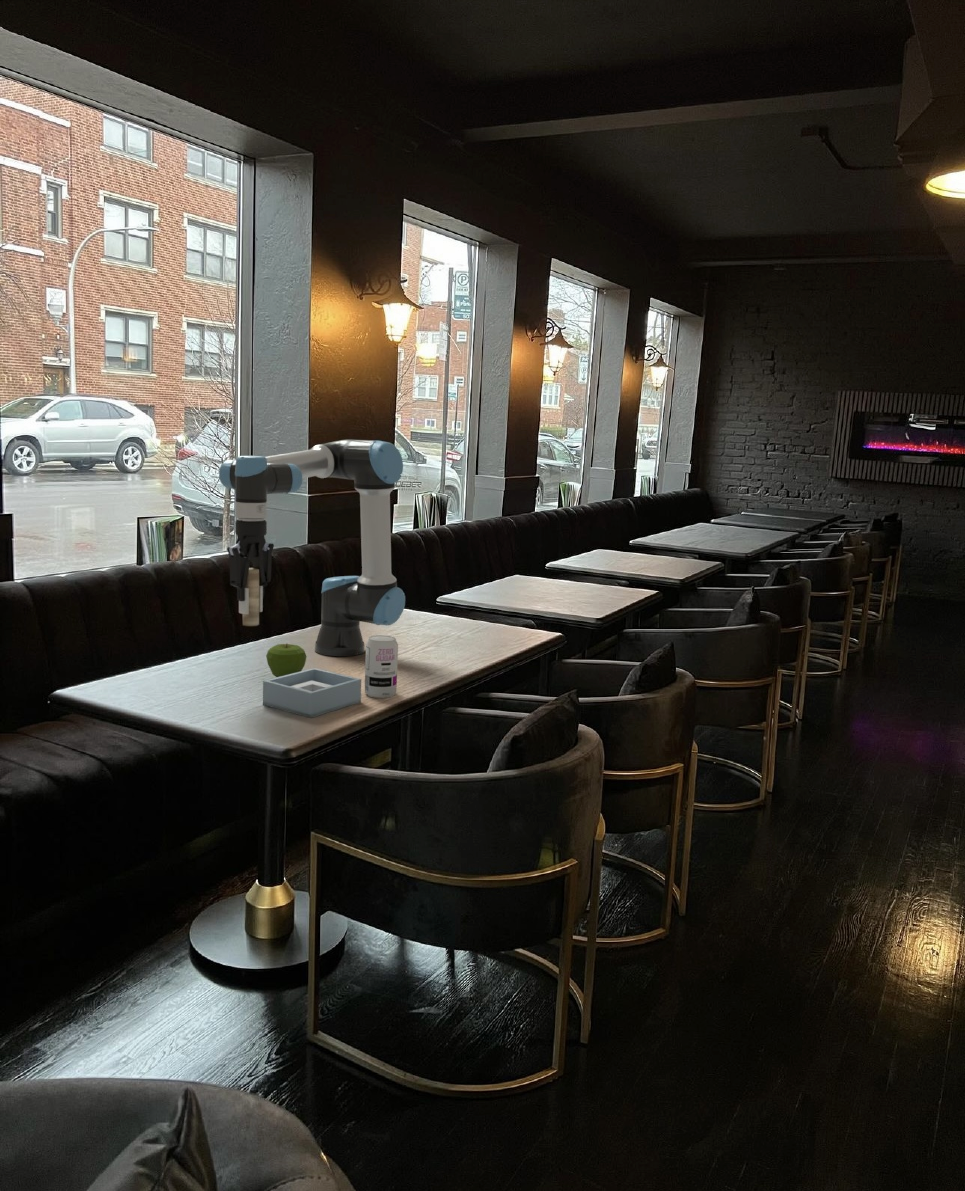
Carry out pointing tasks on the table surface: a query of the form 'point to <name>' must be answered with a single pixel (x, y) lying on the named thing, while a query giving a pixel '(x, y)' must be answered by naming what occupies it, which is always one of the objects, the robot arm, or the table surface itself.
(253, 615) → the peg
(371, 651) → the supplement can
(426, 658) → the table surface
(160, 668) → the table surface
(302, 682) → the crate
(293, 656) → the apple
